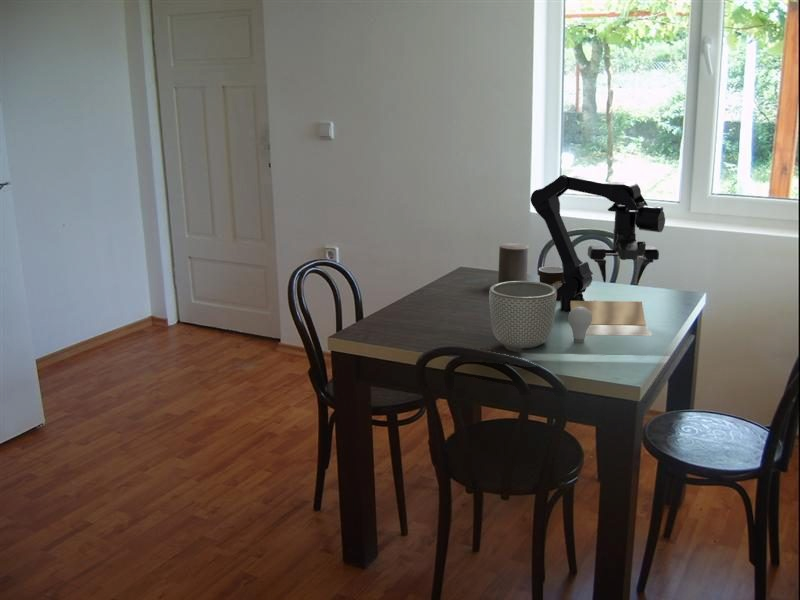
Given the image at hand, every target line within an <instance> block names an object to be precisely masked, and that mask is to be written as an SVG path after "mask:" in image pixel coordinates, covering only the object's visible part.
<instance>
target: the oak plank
mask: <svg viewBox="0 0 800 600" xmlns="http://www.w3.org/2000/svg"><path fill="white" fill-rule="evenodd" d="M570 306H571V310H572V309H574V308H575V307H585V308H587V309H588V310H589V311H590V313H591V315H592V322H591V324H590V325H639V326H647V323H646V319H645V312H644V308H643V307H644V306H643V301H630V300H629V301H628V300H626V301H625V300H623V301H622V300H617V301H616V300H614V301H613V300H609V301H608V300H607V301H606V300H585V301H571V303H570Z"/></svg>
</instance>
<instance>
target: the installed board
mask: <svg viewBox="0 0 800 600" xmlns="http://www.w3.org/2000/svg"><path fill="white" fill-rule="evenodd" d="M585 336H631V337H632V336H636V337H643V336H644V337H651V336H653V334H652V333H651V331H650V329H649V328H648V326H647V325H590V326H589V327H588V329H587V331H586V335H585Z"/></svg>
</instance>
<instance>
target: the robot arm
mask: <svg viewBox="0 0 800 600" xmlns="http://www.w3.org/2000/svg"><path fill="white" fill-rule="evenodd" d="M557 177H558V178H555V180H553V181H552V182H550V183H548V184H547V185H545V186H544V187H541V188H539V189H536V190H534V191H533V192H532V193H531V196H530V204H531V205H532V207H533V208H534V210H535V211H536V213H537V214H538V215H539V216H540V217H541V218H542V219H543V220H544V222H545V224H546V227H547V230H548V231H549V234H550V236H551V239H552V241H553V244H554V246H555V249H556V250H557V253H558V256H559V258H560V261H561V262H562V268H563V277H564V282H565V283H564V284H563V285H561V286H560V287H559V288H558V289H557V292H558V296H560V301H559V303H560V304H559V309H560V311H561V312H565V313H566V312H567V313H570V311H571V306H570V303H571V301H586V300H585V298H584V294H583V293H585V292H586V290H587V288H589V287H590V286H591V284H592V282H593V276H592V275H594V273H593V271H591V269H590V264H589V262H588V261H585V262H583V261H581V259H579V257H578V255H577V253H576V250H575V247H574V245H573V243H572V240H571V237H570V235H569V233H568V230H567V227H566V226H565V223H564V219H563V218H562V216H561V202H560V199H559V197H561V196H563V194H565V193H566V192H567V191H568V190H571V191H575V192H579V193H586V194H591V195H595V196H599V197H603V198H605V199H607V200H609V201H610V202H612V203H613V204H612V205H611V206H610V207H608V208H607V212H614V213H615V214H614V229H613V241H612V248H605V247H604V246H603V245H589V246H588V248H587V256H588V258H589V259H591V260H593V261H594V262H595V263H597V264H598V269H599V271H600V275H601V278H602V282H603V283H607V282H606V280H607V269H606V268H607V267H606V264H607V259H605V258H606V256H607V257H619V259H620V260H621V261H626V260H632V261H636V260H637V264H636V265H637V266H636V273H635V282H636V283H637V284H638V283H639V282H640V280H641V277H642V276H643V273H644V271H645V269H646V268H647V266H648V265H649V264H650V263H654V261H658V260H659V258H660V251H659V250H658V249H657V248H656V247H655V246H654V245H646V241H637V240H636V228H638V229H639V230H640V231H645V232H655V233H662V232H663V230H664V228H665V224H666V216H665V212H664V207H663V206H648V204H647V203H648V202H646V199H644V197H643V195H642V194H641V192H642V190H641V188H640V186H639V185H638V183H636V182H633V181H616V182H615V181H612V182H610V181H604V180H599V179H595V178H589V177H584V176H583V177H582V176H577V175H574V174H572V173H566V174H561V175H560V176H557Z"/></svg>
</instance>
